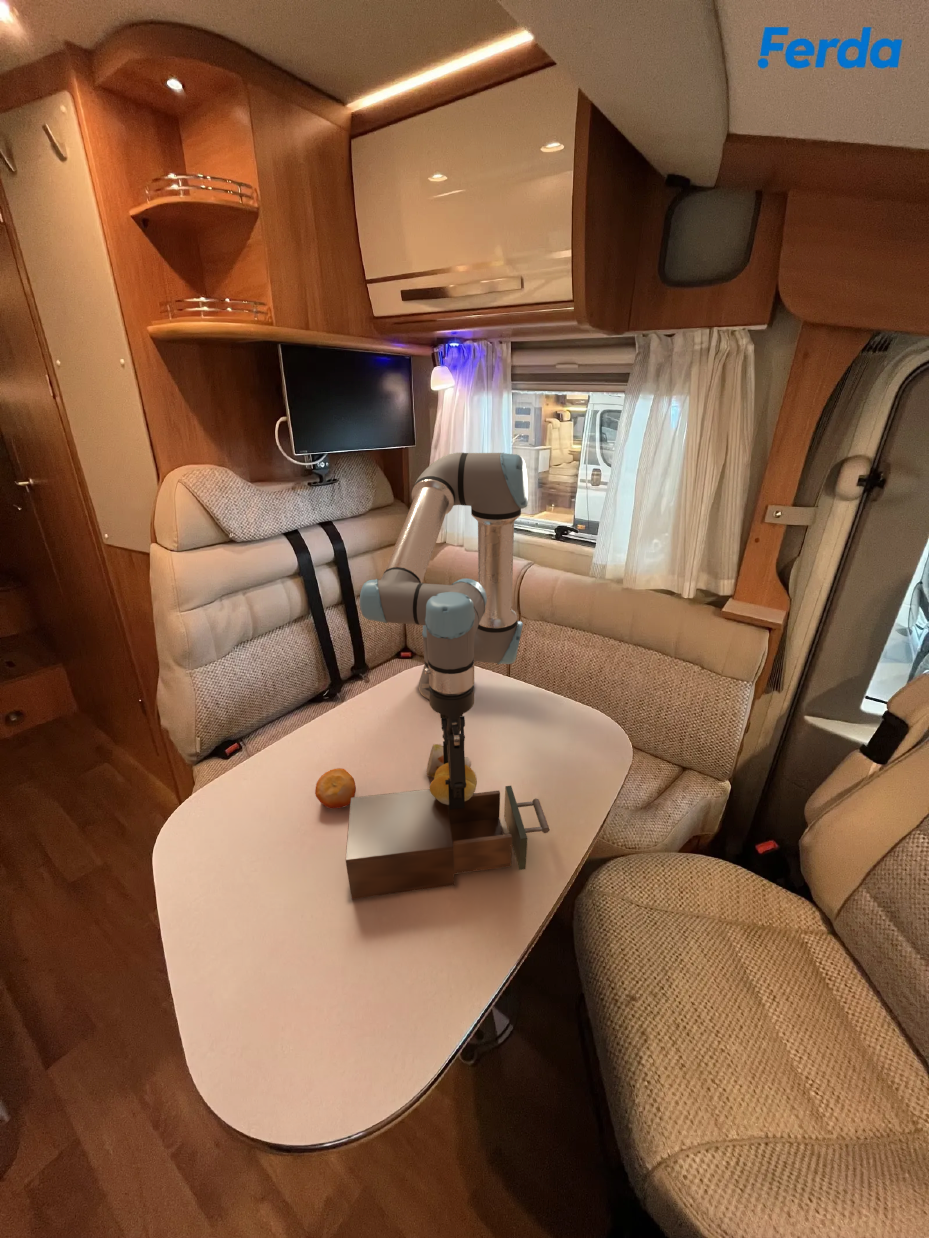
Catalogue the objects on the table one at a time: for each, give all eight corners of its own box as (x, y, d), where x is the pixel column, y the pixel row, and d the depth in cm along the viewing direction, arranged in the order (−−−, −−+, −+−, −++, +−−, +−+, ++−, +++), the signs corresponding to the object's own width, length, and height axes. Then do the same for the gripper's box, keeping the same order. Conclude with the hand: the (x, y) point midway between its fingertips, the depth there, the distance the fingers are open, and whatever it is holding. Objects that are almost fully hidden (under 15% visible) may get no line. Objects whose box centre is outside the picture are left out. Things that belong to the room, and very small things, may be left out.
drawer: (533, 812, 100) (535, 782, 97) (552, 865, 89) (555, 834, 86) (427, 824, 98) (425, 794, 94) (432, 881, 86) (431, 850, 83)
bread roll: (425, 802, 89) (424, 785, 88) (440, 768, 97) (439, 752, 96) (469, 811, 87) (469, 794, 86) (481, 776, 95) (481, 760, 94)
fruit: (357, 773, 110) (353, 762, 103) (358, 810, 105) (354, 801, 99) (319, 778, 108) (313, 767, 102) (319, 816, 104) (312, 806, 98)
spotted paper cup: (475, 784, 109) (452, 759, 103) (437, 793, 112) (413, 770, 107) (477, 755, 114) (455, 730, 109) (440, 764, 118) (418, 741, 112)
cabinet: (446, 823, 99) (444, 786, 95) (454, 885, 87) (453, 846, 83) (356, 834, 97) (350, 797, 93) (351, 899, 85) (345, 860, 80)
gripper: (425, 654, 92) (429, 750, 102) (433, 726, 73) (438, 837, 82) (465, 651, 93) (465, 746, 103) (484, 722, 74) (483, 832, 83)
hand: (453, 786), depth 93 cm, fingers closed on bread roll, 9 cm apart
